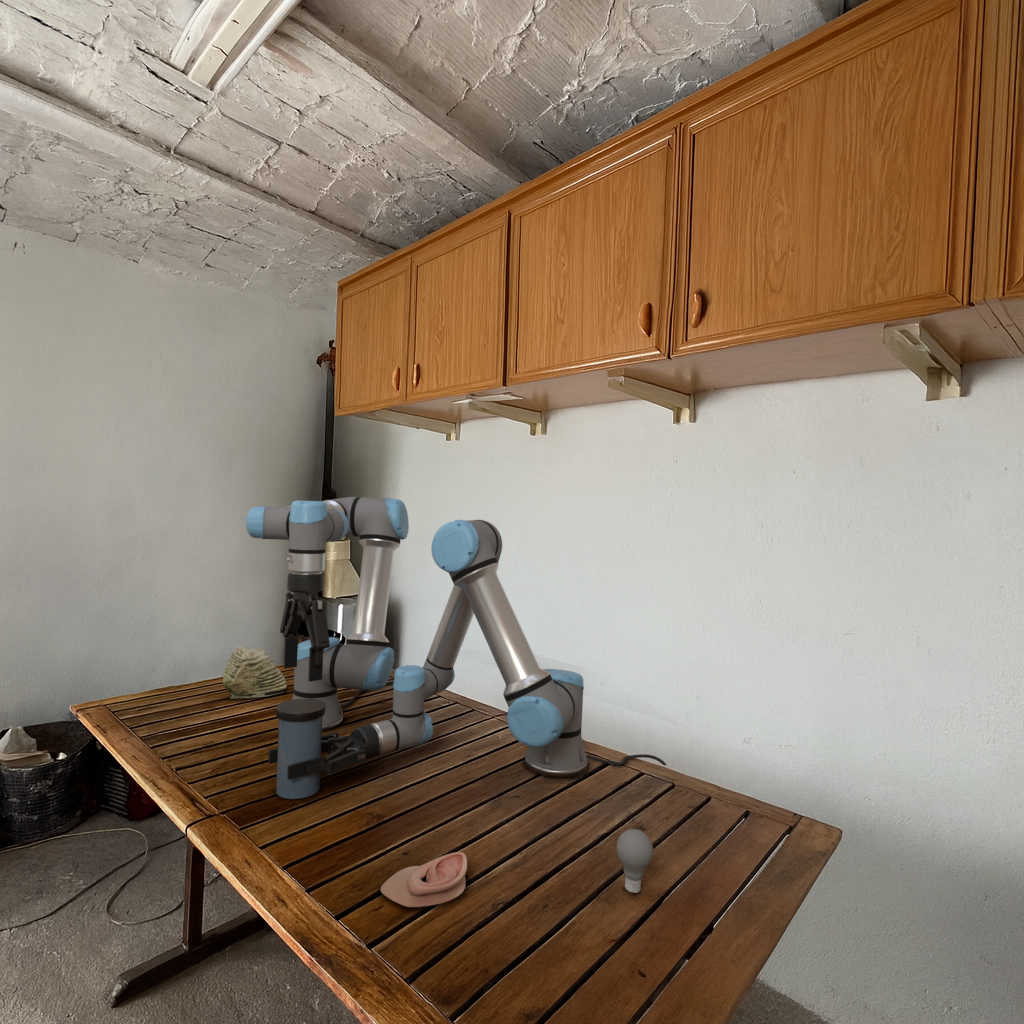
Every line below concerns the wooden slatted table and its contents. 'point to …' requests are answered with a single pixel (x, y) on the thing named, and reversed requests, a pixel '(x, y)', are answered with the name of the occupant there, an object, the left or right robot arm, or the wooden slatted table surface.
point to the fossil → (252, 674)
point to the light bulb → (634, 857)
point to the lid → (300, 710)
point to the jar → (298, 756)
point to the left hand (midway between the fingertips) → (302, 673)
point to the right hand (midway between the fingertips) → (278, 764)
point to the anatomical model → (428, 882)
